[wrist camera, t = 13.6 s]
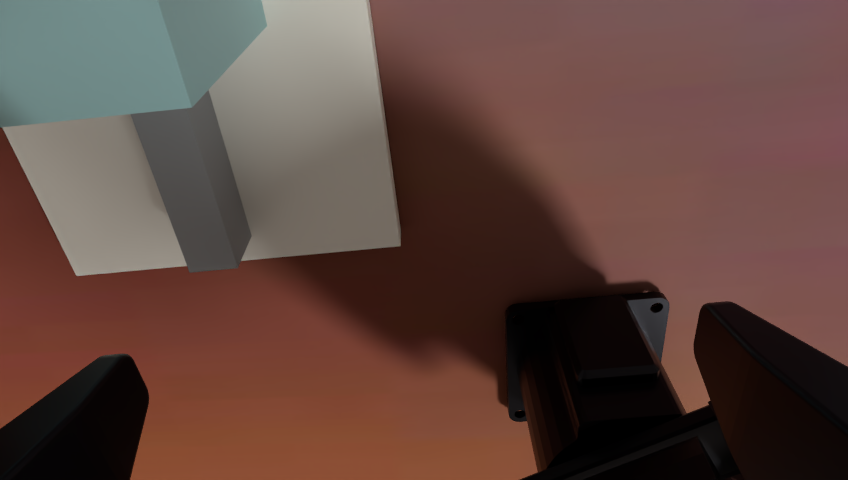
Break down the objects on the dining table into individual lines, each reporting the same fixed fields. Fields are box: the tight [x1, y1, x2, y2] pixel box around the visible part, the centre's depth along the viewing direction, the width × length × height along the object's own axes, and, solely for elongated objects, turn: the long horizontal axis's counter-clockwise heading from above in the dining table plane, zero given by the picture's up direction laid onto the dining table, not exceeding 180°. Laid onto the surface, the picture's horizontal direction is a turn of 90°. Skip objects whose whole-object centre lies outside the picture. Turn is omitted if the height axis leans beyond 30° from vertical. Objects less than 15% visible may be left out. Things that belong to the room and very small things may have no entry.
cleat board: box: [2, 0, 401, 276], centre depth 16 cm, size 18×12×4 cm, turn 6°
